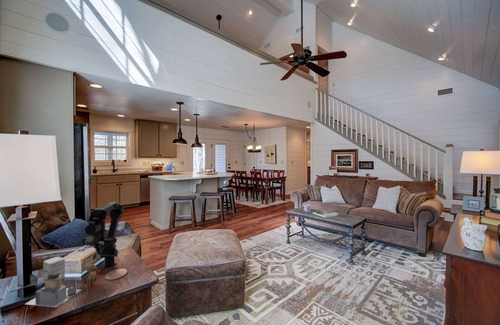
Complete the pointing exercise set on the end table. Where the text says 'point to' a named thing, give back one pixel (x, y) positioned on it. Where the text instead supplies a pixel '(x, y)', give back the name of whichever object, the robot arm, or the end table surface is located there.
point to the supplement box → (54, 267)
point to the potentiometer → (71, 291)
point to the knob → (53, 281)
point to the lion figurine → (91, 274)
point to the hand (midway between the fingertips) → (99, 254)
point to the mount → (51, 297)
